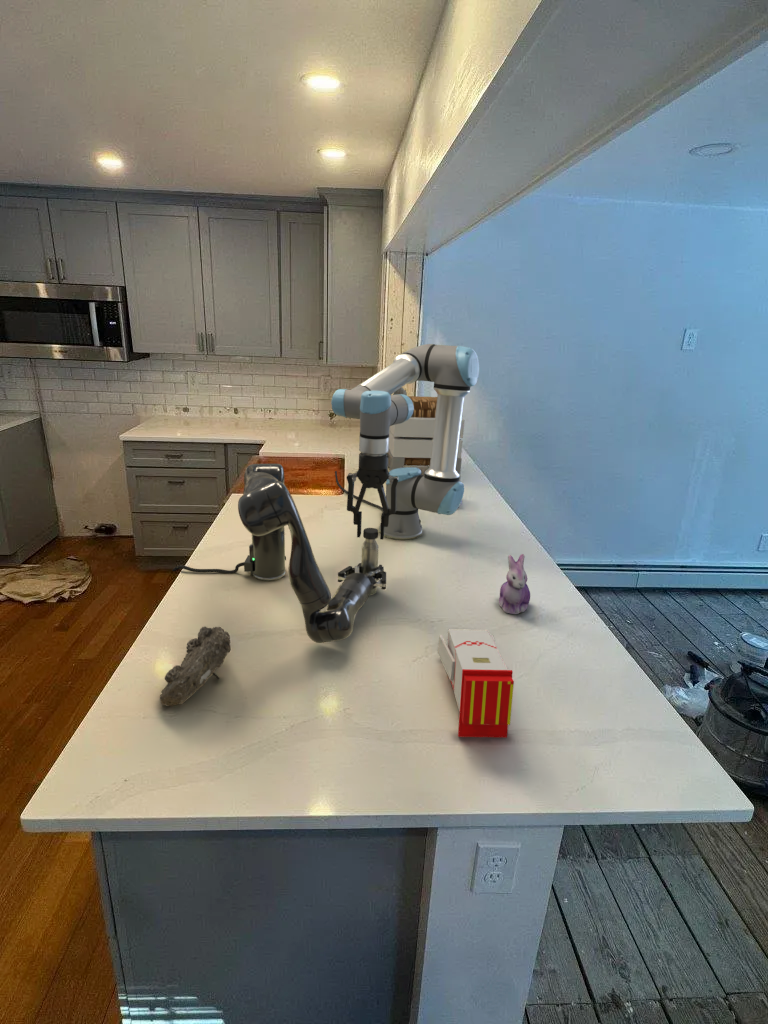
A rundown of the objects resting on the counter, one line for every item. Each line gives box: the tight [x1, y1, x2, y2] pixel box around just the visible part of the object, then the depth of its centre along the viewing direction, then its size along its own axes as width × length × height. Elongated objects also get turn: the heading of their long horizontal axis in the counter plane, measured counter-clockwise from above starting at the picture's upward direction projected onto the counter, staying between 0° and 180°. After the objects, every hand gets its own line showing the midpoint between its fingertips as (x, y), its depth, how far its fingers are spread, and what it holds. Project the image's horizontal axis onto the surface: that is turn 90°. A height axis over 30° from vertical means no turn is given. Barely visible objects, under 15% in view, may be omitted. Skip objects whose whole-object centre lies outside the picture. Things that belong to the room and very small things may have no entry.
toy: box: [437, 628, 515, 738], centre depth 117 cm, size 12×13×30 cm
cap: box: [362, 527, 379, 540], centre depth 153 cm, size 4×4×2 cm
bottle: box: [360, 538, 379, 596], centre depth 156 cm, size 4×4×18 cm
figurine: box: [498, 553, 531, 615], centre depth 151 cm, size 9×10×15 cm
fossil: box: [159, 626, 232, 707], centre depth 118 cm, size 22×10×15 cm
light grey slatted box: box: [387, 386, 465, 482], centre depth 268 cm, size 34×33×41 cm
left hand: (371, 566), depth 159 cm, fingers closed on bottle, 4 cm apart
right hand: (370, 536), depth 153 cm, fingers open, 6 cm apart
